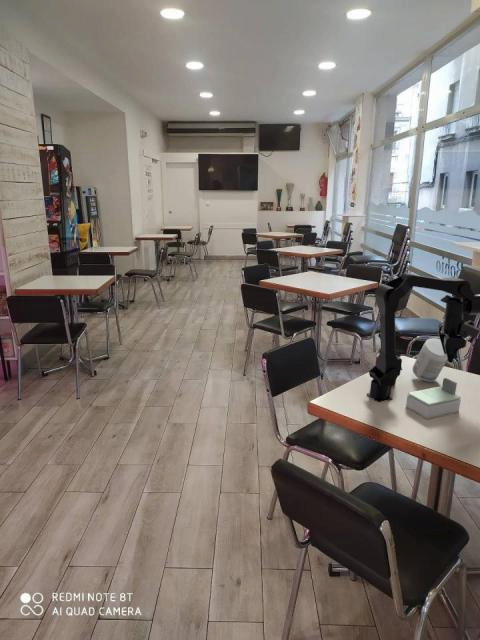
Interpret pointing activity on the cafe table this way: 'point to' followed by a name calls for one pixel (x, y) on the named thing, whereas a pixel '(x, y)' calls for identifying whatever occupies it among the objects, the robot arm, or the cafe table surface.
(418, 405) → the white shallow box
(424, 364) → the supplement tub
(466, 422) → the cafe table surface
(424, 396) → the lid
